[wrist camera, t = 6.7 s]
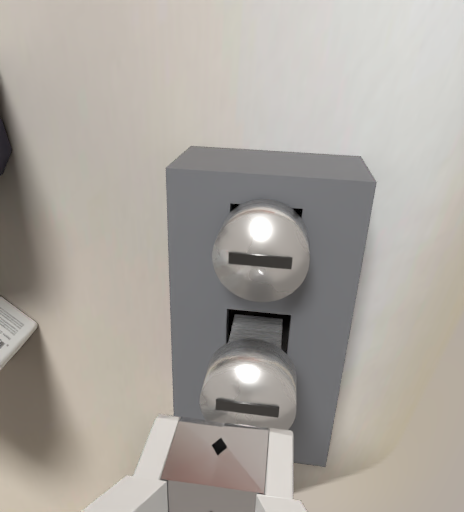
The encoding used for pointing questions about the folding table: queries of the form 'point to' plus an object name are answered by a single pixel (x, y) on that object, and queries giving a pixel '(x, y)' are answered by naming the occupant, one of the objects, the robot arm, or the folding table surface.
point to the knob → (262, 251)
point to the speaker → (4, 148)
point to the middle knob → (251, 377)
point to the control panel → (296, 304)
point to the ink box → (13, 330)
